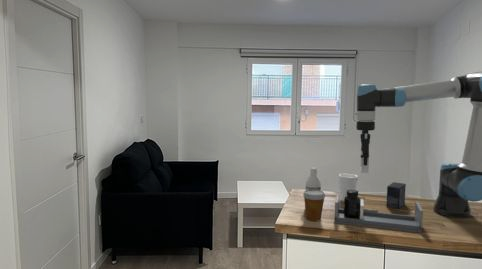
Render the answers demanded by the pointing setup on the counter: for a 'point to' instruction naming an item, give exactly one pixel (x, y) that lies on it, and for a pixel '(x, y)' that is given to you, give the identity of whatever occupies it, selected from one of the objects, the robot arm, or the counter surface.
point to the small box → (396, 195)
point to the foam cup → (347, 183)
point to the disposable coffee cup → (313, 204)
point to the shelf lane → (383, 219)
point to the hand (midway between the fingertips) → (364, 169)
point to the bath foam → (313, 181)
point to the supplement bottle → (352, 205)
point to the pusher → (365, 209)
